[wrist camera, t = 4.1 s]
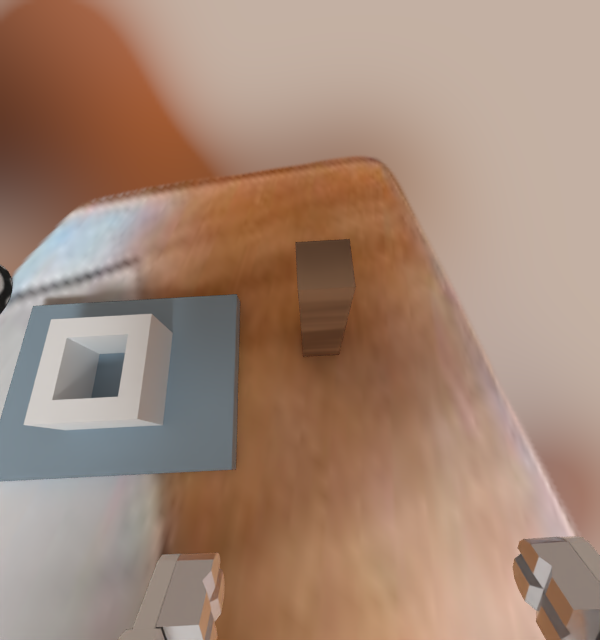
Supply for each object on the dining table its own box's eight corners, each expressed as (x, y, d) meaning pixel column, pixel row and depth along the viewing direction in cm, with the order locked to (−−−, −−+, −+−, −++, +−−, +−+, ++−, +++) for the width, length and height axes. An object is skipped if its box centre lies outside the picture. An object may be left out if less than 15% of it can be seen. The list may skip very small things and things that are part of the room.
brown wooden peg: (338, 354, 28) (355, 286, 17) (303, 356, 29) (297, 290, 17) (335, 321, 30) (349, 239, 19) (301, 323, 30) (295, 242, 19)
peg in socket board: (236, 469, 25) (217, 471, 20) (-1, 481, 26) (-78, 485, 20) (240, 301, 31) (225, 270, 26) (45, 312, 31) (-7, 283, 26)
